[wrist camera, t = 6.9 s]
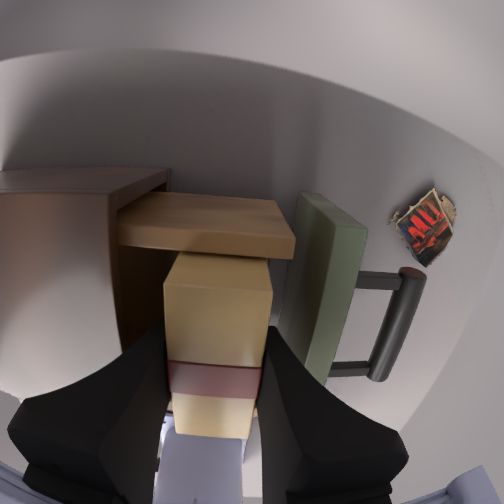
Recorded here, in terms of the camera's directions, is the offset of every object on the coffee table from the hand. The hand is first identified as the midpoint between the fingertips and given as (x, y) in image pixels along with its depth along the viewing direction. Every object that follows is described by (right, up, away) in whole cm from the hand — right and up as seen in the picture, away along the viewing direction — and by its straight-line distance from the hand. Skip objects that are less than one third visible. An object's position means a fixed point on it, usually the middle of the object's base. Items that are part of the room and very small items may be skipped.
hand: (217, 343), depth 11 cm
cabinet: (-10, +3, +6) cm, 13 cm away
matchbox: (+13, +5, +6) cm, 15 cm away
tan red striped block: (0, +1, +1) cm, 1 cm away
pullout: (0, +2, +6) cm, 6 cm away
